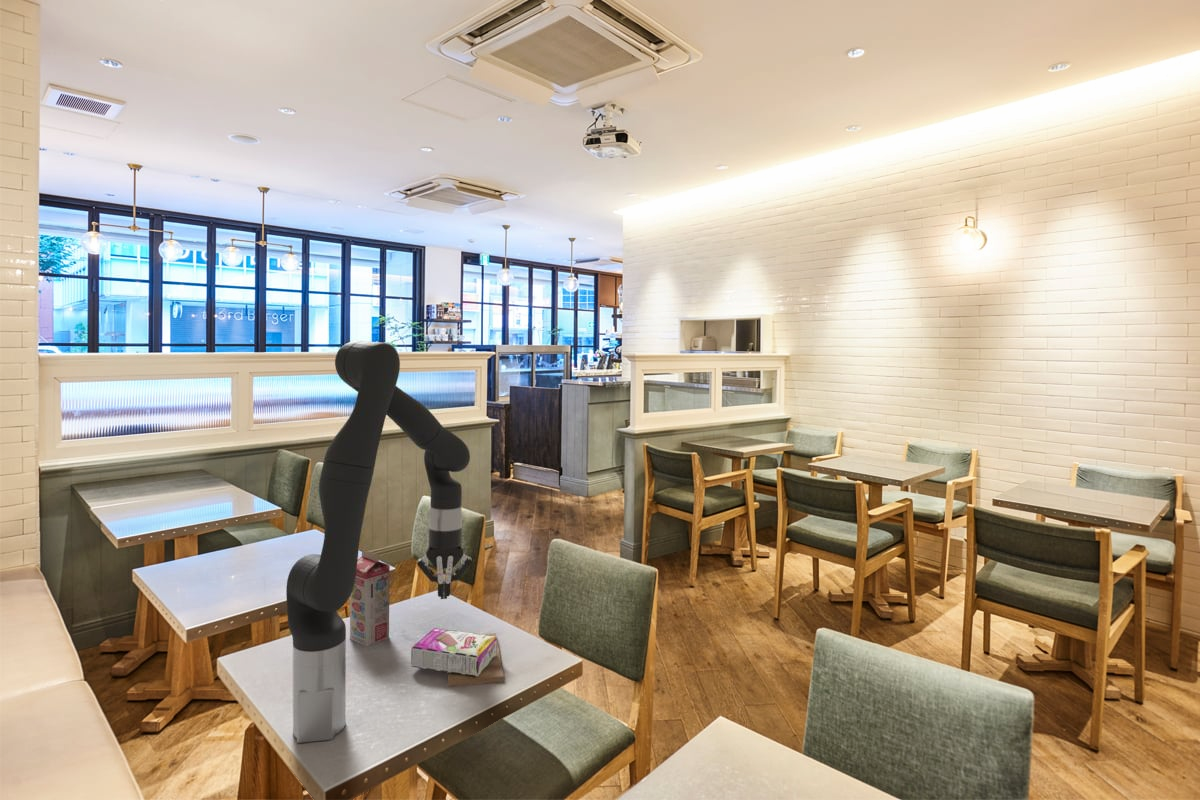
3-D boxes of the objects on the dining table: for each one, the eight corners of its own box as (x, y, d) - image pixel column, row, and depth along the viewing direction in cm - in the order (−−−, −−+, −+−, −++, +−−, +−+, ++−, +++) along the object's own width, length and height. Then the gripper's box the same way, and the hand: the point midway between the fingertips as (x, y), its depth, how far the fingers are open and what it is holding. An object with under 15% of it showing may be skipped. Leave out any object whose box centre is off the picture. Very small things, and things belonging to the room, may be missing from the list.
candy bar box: (433, 626, 155) (497, 635, 151) (433, 646, 155) (497, 655, 151) (410, 646, 144) (478, 656, 140) (410, 667, 144) (478, 678, 141)
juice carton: (373, 630, 165) (373, 546, 164) (388, 637, 161) (389, 552, 160) (349, 638, 160) (350, 552, 158) (365, 646, 156) (366, 558, 154)
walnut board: (503, 681, 142) (503, 676, 142) (447, 686, 139) (448, 681, 139) (495, 637, 163) (495, 633, 163) (447, 641, 160) (447, 636, 160)
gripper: (415, 530, 144) (413, 605, 145) (475, 528, 147) (473, 602, 148) (416, 521, 151) (415, 593, 152) (473, 520, 154) (471, 590, 155)
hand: (443, 597), depth 150 cm, fingers closed
